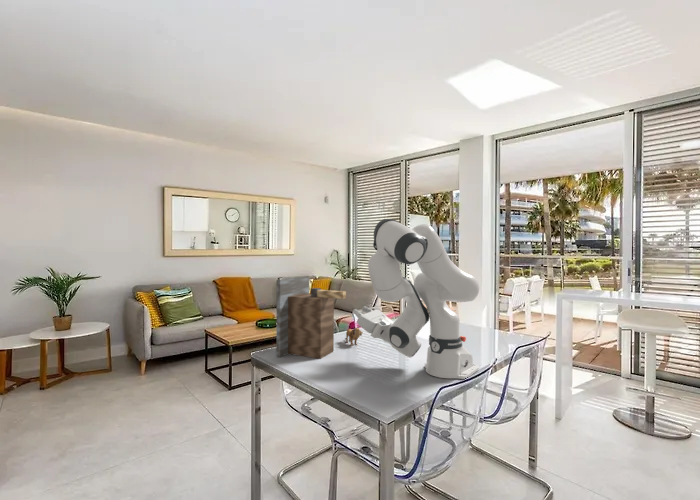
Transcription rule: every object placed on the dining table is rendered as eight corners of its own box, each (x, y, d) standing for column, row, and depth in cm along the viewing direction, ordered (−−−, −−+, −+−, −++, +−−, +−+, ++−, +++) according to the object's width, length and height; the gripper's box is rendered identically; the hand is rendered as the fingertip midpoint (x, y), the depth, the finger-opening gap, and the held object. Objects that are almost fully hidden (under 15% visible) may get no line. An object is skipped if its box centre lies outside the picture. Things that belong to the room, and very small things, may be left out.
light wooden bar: (346, 298, 165) (346, 289, 165) (342, 299, 161) (342, 290, 161) (315, 295, 172) (315, 287, 172) (311, 296, 168) (311, 288, 168)
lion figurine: (363, 346, 182) (364, 328, 182) (354, 347, 179) (354, 329, 179) (348, 339, 194) (348, 322, 194) (339, 340, 192) (339, 323, 192)
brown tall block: (339, 348, 178) (339, 277, 177) (313, 362, 156) (313, 281, 156) (305, 343, 186) (305, 275, 186) (276, 356, 164) (276, 279, 164)
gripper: (395, 317, 163) (370, 300, 168) (380, 325, 145) (352, 305, 150) (388, 329, 164) (364, 311, 169) (372, 338, 146) (344, 318, 151)
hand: (358, 308), depth 159 cm, fingers open, 8 cm apart
